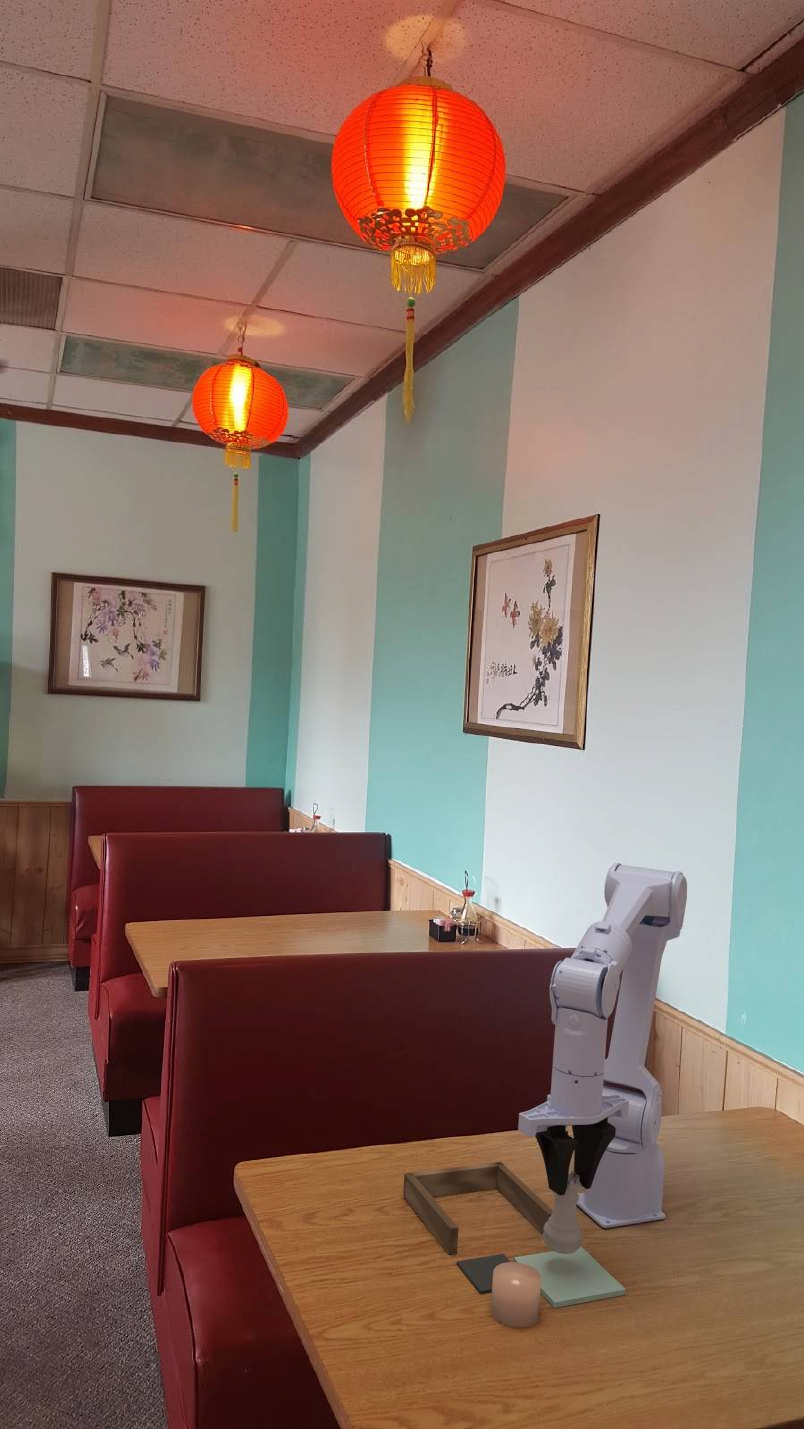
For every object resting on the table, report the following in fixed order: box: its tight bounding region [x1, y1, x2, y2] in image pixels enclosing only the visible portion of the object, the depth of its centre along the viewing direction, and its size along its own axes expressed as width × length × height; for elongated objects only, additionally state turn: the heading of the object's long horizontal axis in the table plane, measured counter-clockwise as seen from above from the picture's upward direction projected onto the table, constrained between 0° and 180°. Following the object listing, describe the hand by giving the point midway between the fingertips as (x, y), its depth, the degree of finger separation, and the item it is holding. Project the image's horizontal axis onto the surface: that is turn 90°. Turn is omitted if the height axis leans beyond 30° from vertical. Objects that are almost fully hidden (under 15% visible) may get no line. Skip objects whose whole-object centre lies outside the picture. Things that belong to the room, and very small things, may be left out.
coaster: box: [512, 1246, 626, 1309], centre depth 112 cm, size 9×9×1 cm
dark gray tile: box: [456, 1253, 511, 1295], centre depth 112 cm, size 6×6×1 cm
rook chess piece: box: [541, 1170, 583, 1254], centre depth 113 cm, size 4×4×8 cm
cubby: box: [402, 1161, 553, 1255], centre depth 125 cm, size 14×14×3 cm
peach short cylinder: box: [490, 1261, 541, 1329], centre depth 105 cm, size 5×5×4 cm
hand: (569, 1188), depth 113 cm, fingers closed on rook chess piece, 3 cm apart
